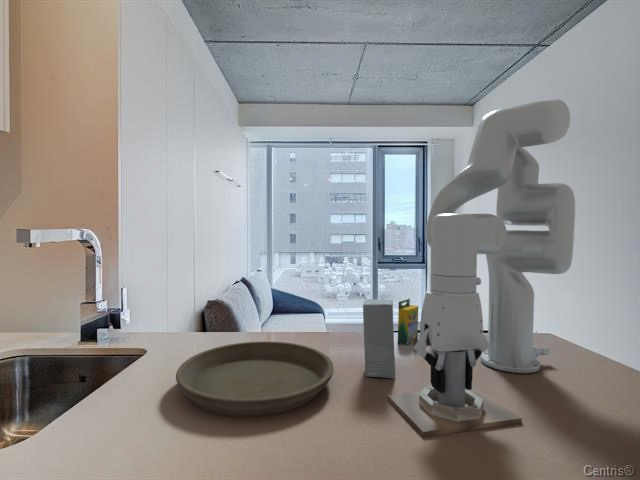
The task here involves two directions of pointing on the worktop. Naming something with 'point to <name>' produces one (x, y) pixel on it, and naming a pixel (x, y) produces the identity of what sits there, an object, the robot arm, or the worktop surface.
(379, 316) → the skincare box
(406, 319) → the crayon box
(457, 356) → the grey tube
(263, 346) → the plant saucer
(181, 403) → the worktop surface
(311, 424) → the worktop surface
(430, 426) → the tan board with ring
